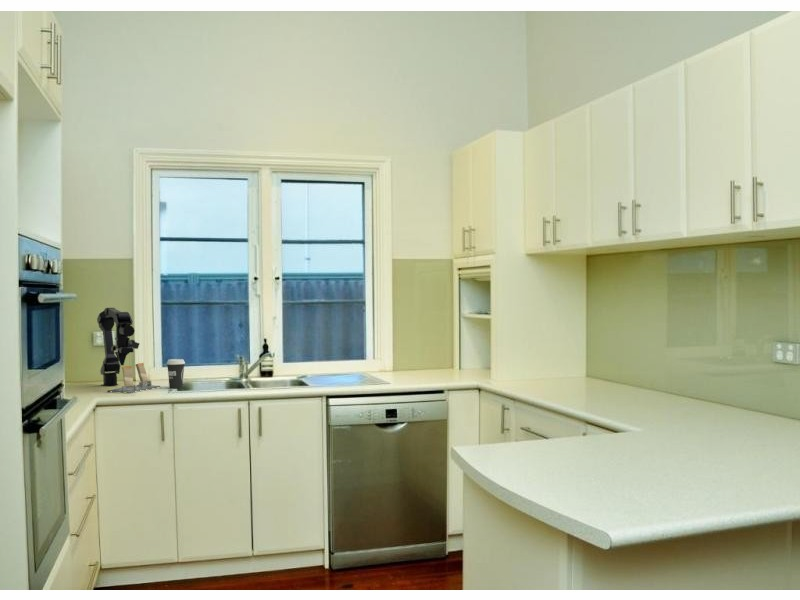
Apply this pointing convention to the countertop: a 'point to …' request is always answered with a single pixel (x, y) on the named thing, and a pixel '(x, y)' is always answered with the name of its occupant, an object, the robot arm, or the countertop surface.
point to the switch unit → (135, 387)
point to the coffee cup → (175, 373)
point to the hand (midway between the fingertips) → (122, 365)
